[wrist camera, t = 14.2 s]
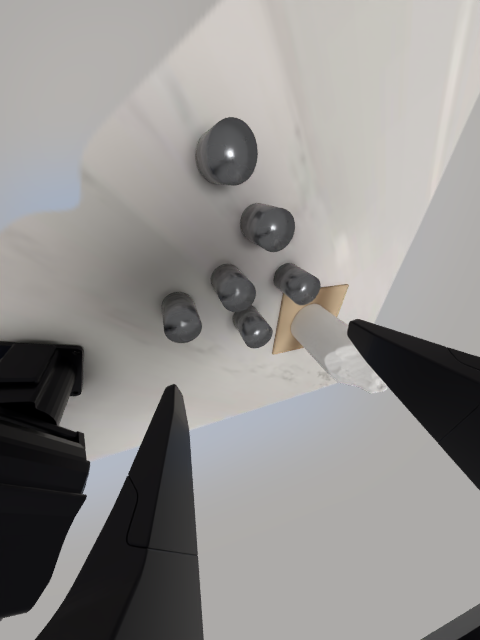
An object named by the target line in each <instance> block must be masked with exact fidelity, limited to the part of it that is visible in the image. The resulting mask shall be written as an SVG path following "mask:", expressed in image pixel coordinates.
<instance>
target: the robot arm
mask: <svg viewBox="0 0 480 640" xmlns="http://www.w3.org/2000/svg"><path fill="white" fill-rule="evenodd" d="M347 336H348V338H349V339H350V341H351V342H352V343H353V345H354V346H355V347H356V349H357V350H358V352H359V353H360V354H361V356H362V357H363V359H364V360H365V361H366V362H367V363H368V365H369V366H370V367H371V368H372V369H373V370H374V371H375V373H376V374H377V375H378V376H379V377H380V378H381V379H382V380H383V382H384V383H385V384H386V385H387V386H388V387H389V388H390V390H391V391H392V392H393V393H394V394H395V395H396V396H397V397H398V398H399V400H400V401H401V402H402V403H403V404H404V405H405V406H406V408H407V409H408V410H409V411H410V412H411V413H412V414H413V415H414V417H415V418H416V419H417V420H418V421H419V422H420V423H421V425H422V426H423V427H424V428H425V429H426V430H427V431H428V432H429V434H430V435H431V436H432V437H433V438H434V439H435V440H436V441H437V442H438V444H439V445H440V446H441V447H442V448H443V449H444V451H445V452H446V453H447V454H448V455H449V456H450V457H451V458H452V460H454V462H455V463H456V464H457V465H458V466H459V467H460V468H461V470H462V471H463V472H464V473H465V474H466V475H467V477H468V478H469V479H470V480H471V481H472V482H473V483H474V484H475V486H476V487H477V488H478V489H479V490H480V357H478V356H474V355H470V354H467V353H464V352H461V351H458V350H455V349H451V348H448V347H447V348H446V347H445V346H442V345H439V344H435V343H432V342H429V341H426V340H423V339H420V338H417V337H414V336H410V335H407V334H404V333H401V332H398V331H395V330H392V329H388V328H385V327H382V326H379V325H376V324H373V323H370V322H367V321H363V320H360V319H355V320H353V321H350V322H349V326H348V330H347ZM75 351H78V352H75ZM82 380H83V348H82V347H79V346H65V345H46V344H27V343H8V342H0V621H1V620H2V619H3V618H5V617H10V616H14V615H18V614H23V613H27V612H28V611H29V610H31V609H32V607H33V606H34V605H35V603H36V602H37V600H38V599H39V597H40V596H41V594H42V592H43V591H44V589H45V588H46V586H47V585H48V583H49V581H50V579H51V577H52V574H53V571H54V568H55V565H56V562H57V559H58V557H59V553H60V551H61V548H62V545H63V542H64V540H65V537H66V535H67V533H68V530H69V528H70V526H71V524H72V522H73V520H74V518H75V516H76V514H77V513H78V511H79V509H80V508H81V506H82V505H83V503H84V501H85V500H86V497H87V496H86V495H84V494H83V491H84V488H85V485H86V481H87V478H88V475H89V469H90V461H87V460H86V451H85V440H84V433H81V432H78V431H77V432H74V431H71V430H68V429H66V428H63V427H60V426H59V423H60V420H61V418H62V415H63V412H64V410H65V407H66V404H67V401H68V399H69V396H78V395H80V394H81V392H82ZM128 475H129V476H127V478H126V480H125V482H124V485H123V487H122V489H121V491H120V494H119V496H118V498H117V500H116V503H115V505H114V507H113V509H112V511H111V513H110V515H109V517H108V519H107V521H106V523H105V525H104V527H103V529H102V530H101V532H100V534H99V536H98V538H97V540H96V542H95V544H94V546H93V548H92V550H91V551H90V554H89V555H88V557H87V559H86V561H85V563H84V565H83V567H82V569H81V571H80V573H79V574H78V576H77V578H76V580H75V582H74V584H73V586H72V587H71V589H70V591H69V593H68V594H67V596H66V598H65V599H64V601H63V603H62V604H61V605H60V607H59V609H58V610H57V611H56V613H55V614H54V616H53V617H52V619H51V620H50V621H49V623H48V624H47V625H46V626H45V628H44V629H43V630H42V632H41V633H40V634H39V635H38V636H37V638H36V639H35V640H204V639H203V624H202V610H201V594H200V580H199V565H198V556H197V555H198V552H197V538H196V524H195V523H196V522H195V508H194V493H193V479H192V464H191V449H190V436H189V427H188V421H187V416H186V410H185V405H184V400H183V396H182V393H181V392H180V390H179V389H178V387H177V385H175V384H173V385H170V386H167V387H166V388H165V390H164V393H163V395H162V397H161V400H160V402H159V404H158V407H157V409H156V411H155V413H154V416H153V418H152V420H151V423H150V425H149V427H148V430H147V432H146V434H145V436H144V439H143V441H142V443H141V446H140V448H139V450H138V453H137V455H136V457H135V459H134V462H133V464H132V467H131V469H130V471H129V473H128ZM421 640H480V604H478V605H477V606H475V607H473V608H472V609H470V610H469V611H467V612H465V613H464V614H462V615H460V616H459V617H457V618H455V619H454V620H452V621H450V622H449V623H447V624H446V625H444V626H443V627H441V628H439V629H437V630H436V631H434V632H432V633H431V634H429V635H428V636H426V637H424V638H423V639H421Z"/></svg>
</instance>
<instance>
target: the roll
mask: <svg viewBox="0 0 480 640" xmlns="http://www.w3.org/2000/svg"><path fill="white" fill-rule="evenodd" d="M348 326H349V325H347V324H346V323H344V322H343V321H341V320H340V319H338V318H337V317H335V316H334V315H333V314H331V313H330V312H328V311H327V310H326V309H324V308H323V307H322V306H321V305H319V304H310V305H307V306H305V307H304V308H302V309H301V310H300V311H299V312H298V313H297V314H296V316H295V318H294V320H293V322H292V324H291V333H292V335H293V336H294V337H295V338H296V339H297V341H298V342H299V343H300V344H301V345H302V346H303V347H304V348H305V349H306V350H307V351H308V352H309V354H310V355H311V356H312V357H313V358H314V359H315V360H316V361H317V362H318V363H319V364H320V366H321V367H322V368H323V369H324V370H325V371H326V372H327V373H328V374H329V375H330V376H331V377H332V378H333V379H334V380H336V381H337V382H339V383H342V384H346V385H353V386H356V387H359V388H361V389H363V390H365V391H367V392H368V393H376V392H383V391H385V390H386V389H387V385H386V384H385V383H384V382H383V380H382V379H381V378H380V377H379V376H378V375H377V374H376V373H375V371H374V370H373V369H372V368H371V367H370V366H369V365H368V363H367V362H366V361H365V360H364V359H363V357H362V356H361V354H360V353H359V352H358V350H357V349H356V347H355V346H354V345H353V343H352V342H351V341H350V339H349V338H348V336H347V330H348Z"/></svg>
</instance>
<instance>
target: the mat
mask: <svg viewBox="0 0 480 640" xmlns="http://www.w3.org/2000/svg"><path fill="white" fill-rule="evenodd" d="M348 286H349V285H348V284H345V285H338V286H330V287H322V288H320V291H319V293H318V295H317V296H316V298H315V299H314V300H313V301H312V302H310V303H308V304H306V305H297V304H296V303H295V302H293V301H292V300H291V299H290V298H289V297H288V296H286V295H285V294H284V293H283V297H282V303H281V308H280V314H279V319H278V325H277V330H276V335H275V341H274V346H273V352H272V354H273V355H274V354H278V353H283V352H287V351H291V350H296V349H300V348H304V347H303V346H302V345H301V344H300V343H299V342H298V341H297V339H296V338H295V337H294V336H293V335H292V333H291V324H292V322H293V320H294V318H295V316H296V314H297V313H298V312H299V311H300V310H301V309H302V308H304V307H305V306H307V305H310V304H319V305H321V306H322V307H323V308H324V309H326V310H327V311H328V312H330V313H331V314H333V315H334V316H335V317H337V316H338V313H339V311H340V308H341V305H342V303H343V300H344V297H345V294H346V292H347V289H348Z"/></svg>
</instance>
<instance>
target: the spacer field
mask: <svg viewBox="0 0 480 640" xmlns="http://www.w3.org/2000/svg"><path fill="white" fill-rule="evenodd" d="M195 155H196V163H197V166H198V169H199V171H200V173H201V174H202V176H203V177H204V178H205V179H206V180H208V181H209V182H211V183H214V184H223V185H239V184H242V183H243V182H245V181H246V180H247V179H248V178H249V177H250V176H251V175H252V173H253V171H254V169H255V166H256V163H257V155H258V153H257V143H256V140H255V137H254V134H253V132H252V130H251V129H250V128H249V126H248V125H247V124H246V123H245V122H243V121H242V120H240V119H238V118H234V117H229V118H225V119H223V120H221V121H219V122H218V123H217V124H216V125H214V126H213V127H212V128H211V129H210V130H208V131H207V132H206V133H205V134H203V135H202V137H201V138H200V139H199V141H198V143H197V147H196V154H195ZM240 226H241V231H242V233H243V235H244V236H245V237H246V238H247V239H249V240H251V241H252V242H254V243H256V244H257V245H259V246H260V247H262V248H264V249H265V250H267V251H270V252H277V251H280V250H282V249H284V248H285V247H286V246H287V245H288V244H289V243H290V241H291V239H292V237H293V234H294V230H295V222H294V218H293V216H292V214H291V213H290V212H289V211H287V210H286V209H283V208H278V207H274V206H269V205H265V204H260V203H255V204H252V205H250V206H249V207H247V208H246V210H245V211H244V212H243V214H242V217H241V222H240ZM211 284H212V286H213V288H214V290H215V292H216V293H217V295H218V297H219V298H220V300H221V302H222V304H223V305H224V307H225V308H226V309H227V310H229V311H232V312H235V313H234V316H233V322H234V324H235V326H236V328H237V330H238V331H239V333H240V335H241V336H242V338H243V340H244V342H245V343H246V345H247V346H248V347H250V348H259V347H262V346H264V345H265V344H266V343H267V342H268V341H269V340H270V339H271V337H272V328H271V327H270V326H269V324H268V323H267V322H266V321H265V319H264V318H263V317H262V316H261V315H260V313H259V312H258V311H257V310H256V308H255V307H253V306H251V304H252V303H253V301H254V299H255V296H256V290H255V287H254V285H253V284H252V283H251V282H250V281H249V280H248V279H247V278H246V277H245V276H244V275H243V274H242V273H241V272H240V271H239V270H238V269H237V268H236V267H235V266H233V265H231V264H224V265H221V266H219V267H218V268H216V269H215V271H214V272H213V274H212V277H211ZM274 284H275V286H276V287H277V288H278V289H279V290H281V291H282V292H283V293H284V294H285V295H286V296H288V297H289V298H290V299H291V300H292V301H293V302H295V303H296V304H297V305H306V304H308V303H310V302H312V301H313V300H314V299H315V298H316V296H317V295H318V293H319V291H320V281H319V279H318V278H316V277H315V276H313V275H311V274H310V273H308V272H306V271H305V270H303V269H301V268H300V267H298V266H296V265H295V264H292V263H287V264H284V265H282V266H281V267H280V268H279V269H278V270H277V271H276V273H275V276H274ZM162 313H163V324H164V332H165V335H166V336H167V338H168V339H170V340H171V341H173V342H177V343H186V342H189V341H192V340H193V339H195V338H196V337H197V336H198V335H199V334H200V332H201V329H202V324H201V321H200V318H199V315H198V313H197V310H196V307H195V304H194V301H193V299H192V298H191V297H190V296H189V295H187V294H185V293H181V292H176V293H172V294H170V295H168V296H167V297H166V298H165V299H164V300H163V303H162Z"/></svg>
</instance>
